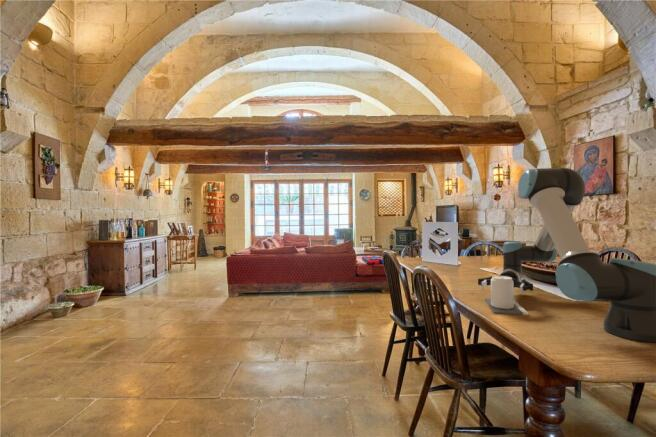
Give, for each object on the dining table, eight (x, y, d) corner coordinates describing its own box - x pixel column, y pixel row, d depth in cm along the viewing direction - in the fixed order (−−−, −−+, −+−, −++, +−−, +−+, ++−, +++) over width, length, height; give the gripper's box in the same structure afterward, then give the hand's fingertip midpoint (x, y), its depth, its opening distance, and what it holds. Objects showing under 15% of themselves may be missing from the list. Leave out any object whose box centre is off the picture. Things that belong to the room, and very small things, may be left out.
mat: (528, 315, 125) (528, 313, 125) (493, 313, 128) (493, 311, 128) (514, 301, 144) (514, 299, 144) (484, 299, 147) (484, 298, 147)
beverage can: (493, 309, 131) (493, 279, 130) (489, 303, 138) (488, 275, 138) (516, 310, 129) (516, 279, 128) (510, 304, 136) (510, 275, 136)
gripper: (542, 290, 141) (538, 302, 123) (479, 284, 155) (467, 293, 138) (542, 272, 140) (538, 281, 123) (479, 268, 155) (467, 275, 138)
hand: (501, 288), depth 131 cm, fingers open, 13 cm apart
